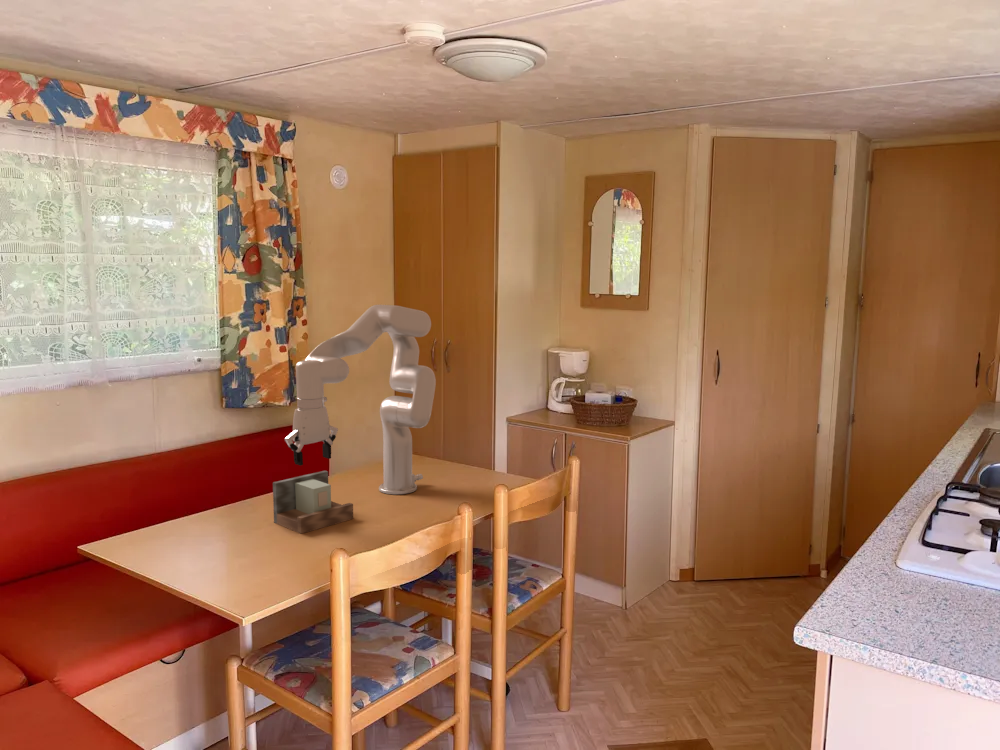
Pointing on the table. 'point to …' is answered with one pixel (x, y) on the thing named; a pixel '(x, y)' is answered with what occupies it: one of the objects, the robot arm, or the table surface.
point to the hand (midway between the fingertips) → (313, 461)
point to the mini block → (312, 496)
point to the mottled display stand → (299, 520)
